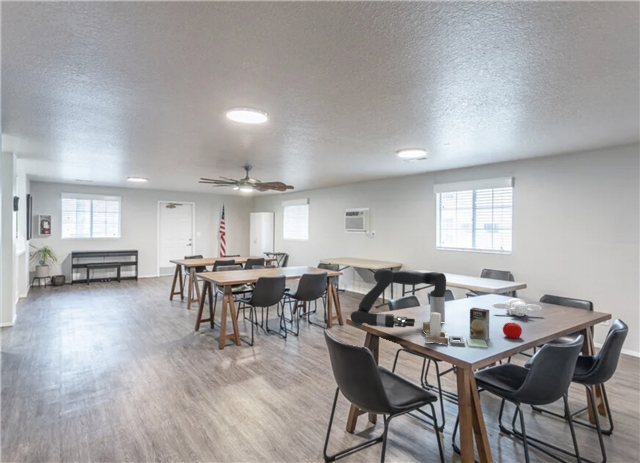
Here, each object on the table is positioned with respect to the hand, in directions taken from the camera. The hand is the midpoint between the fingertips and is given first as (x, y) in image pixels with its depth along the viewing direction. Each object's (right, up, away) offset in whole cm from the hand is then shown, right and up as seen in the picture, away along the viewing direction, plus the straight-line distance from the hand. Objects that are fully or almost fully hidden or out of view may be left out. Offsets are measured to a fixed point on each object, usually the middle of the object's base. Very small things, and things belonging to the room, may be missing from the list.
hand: (414, 322), depth 196 cm
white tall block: (+11, -9, -3) cm, 14 cm away
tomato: (+56, -9, +2) cm, 57 cm away
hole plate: (+21, -9, -7) cm, 24 cm away
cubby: (+11, -9, -3) cm, 14 cm away
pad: (+31, -9, -10) cm, 33 cm away
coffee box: (+37, -9, +2) cm, 39 cm away
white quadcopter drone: (+90, -9, +58) cm, 107 cm away
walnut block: (+11, -9, +11) cm, 18 cm away
